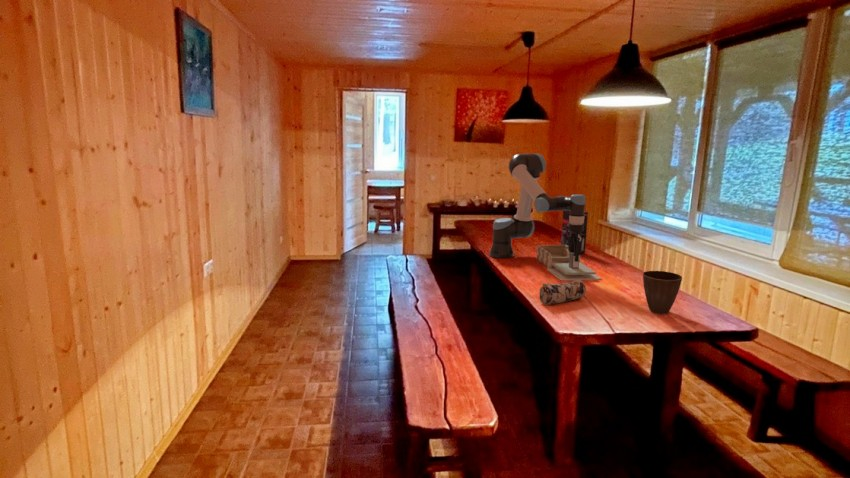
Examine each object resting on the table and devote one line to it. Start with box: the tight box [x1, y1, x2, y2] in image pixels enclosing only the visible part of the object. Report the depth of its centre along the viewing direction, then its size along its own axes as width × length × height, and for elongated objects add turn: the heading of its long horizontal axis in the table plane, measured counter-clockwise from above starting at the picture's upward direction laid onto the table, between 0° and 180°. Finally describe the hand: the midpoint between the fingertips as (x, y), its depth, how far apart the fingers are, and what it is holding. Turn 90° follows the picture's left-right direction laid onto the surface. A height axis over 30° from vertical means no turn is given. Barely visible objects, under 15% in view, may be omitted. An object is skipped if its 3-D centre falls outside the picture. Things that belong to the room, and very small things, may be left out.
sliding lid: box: [553, 252, 597, 275], centre depth 259 cm, size 20×16×9 cm
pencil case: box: [539, 280, 587, 306], centre depth 217 cm, size 22×8×10 cm, turn 116°
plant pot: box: [642, 270, 683, 315], centre depth 203 cm, size 15×15×16 cm
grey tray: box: [546, 268, 603, 282], centre depth 261 cm, size 22×22×1 cm
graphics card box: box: [560, 210, 589, 254], centre depth 313 cm, size 17×7×27 cm, turn 25°
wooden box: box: [536, 244, 581, 269], centre depth 283 cm, size 22×18×9 cm
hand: (573, 265), depth 260 cm, fingers closed on sliding lid, 4 cm apart
